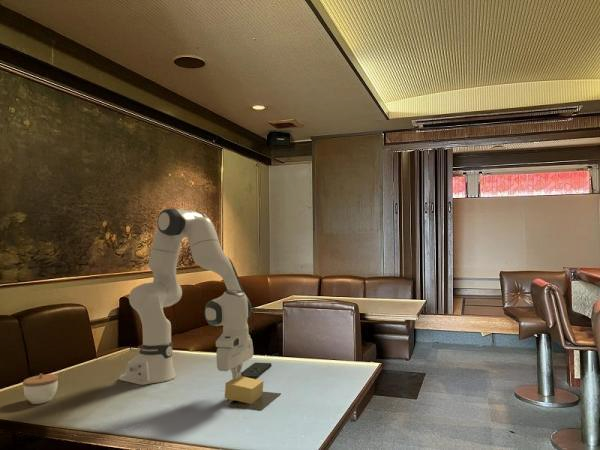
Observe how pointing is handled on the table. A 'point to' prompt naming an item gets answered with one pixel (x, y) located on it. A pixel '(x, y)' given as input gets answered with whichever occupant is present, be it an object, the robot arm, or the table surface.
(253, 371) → the smart home device
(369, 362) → the table surface
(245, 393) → the mustard block
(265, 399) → the topple stop
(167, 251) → the robot arm
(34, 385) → the lidded jar
